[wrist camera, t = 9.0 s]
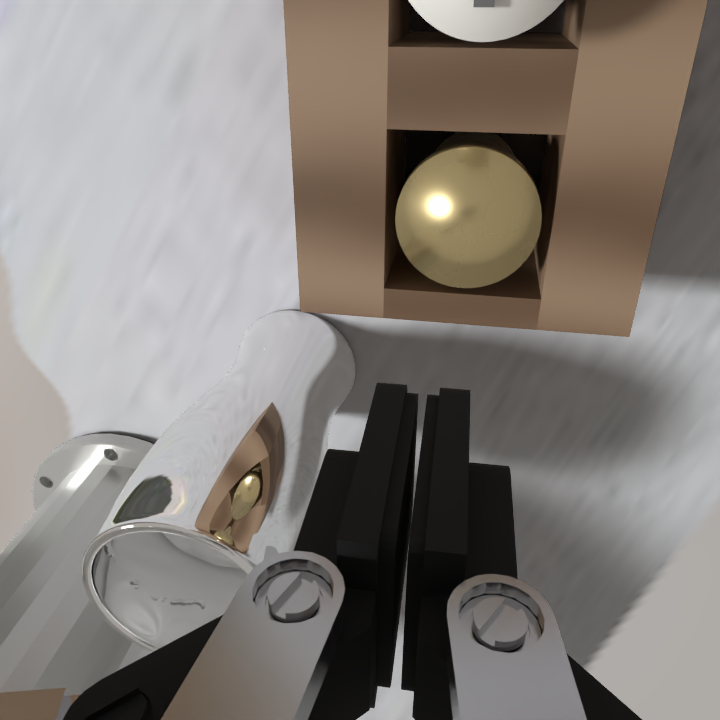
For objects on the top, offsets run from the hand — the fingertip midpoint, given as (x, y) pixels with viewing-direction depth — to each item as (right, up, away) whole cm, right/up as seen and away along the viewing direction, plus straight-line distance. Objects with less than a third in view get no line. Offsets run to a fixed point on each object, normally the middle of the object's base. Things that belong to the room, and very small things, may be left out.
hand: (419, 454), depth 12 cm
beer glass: (-4, +2, +22) cm, 22 cm away
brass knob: (+4, +9, +15) cm, 18 cm away
